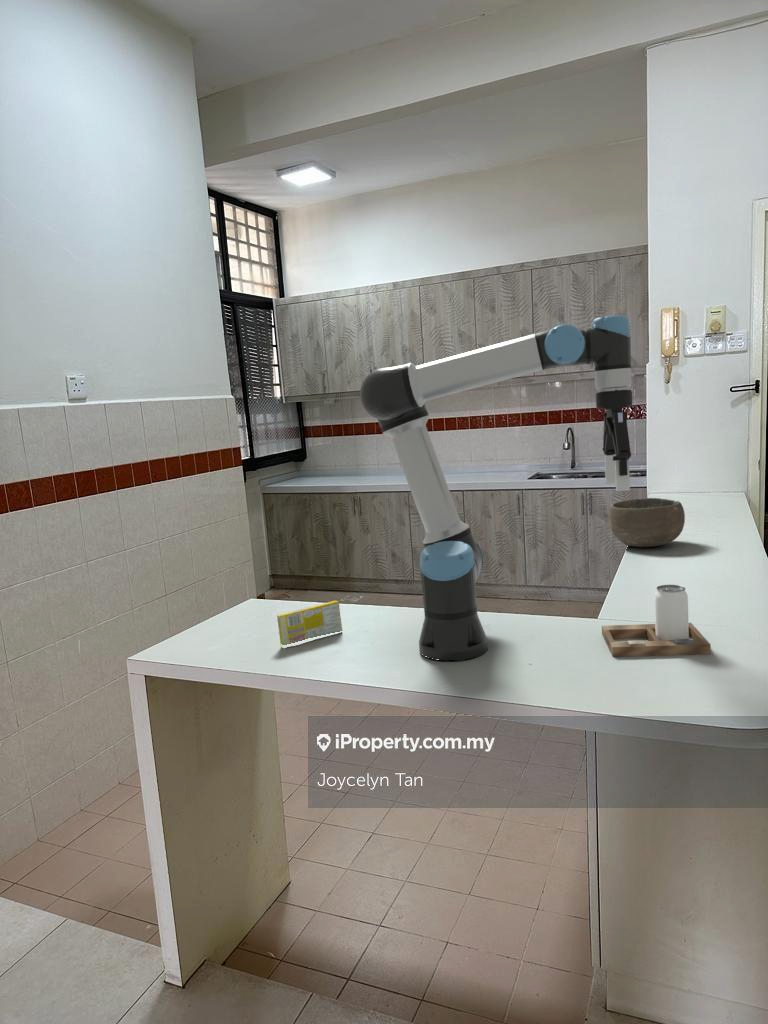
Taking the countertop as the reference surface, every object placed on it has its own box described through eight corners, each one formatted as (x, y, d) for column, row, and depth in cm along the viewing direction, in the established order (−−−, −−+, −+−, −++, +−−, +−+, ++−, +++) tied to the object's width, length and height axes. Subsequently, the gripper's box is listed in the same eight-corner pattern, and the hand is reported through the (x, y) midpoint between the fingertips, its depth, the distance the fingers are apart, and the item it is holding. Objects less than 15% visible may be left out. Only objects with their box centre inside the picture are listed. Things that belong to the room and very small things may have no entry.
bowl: (622, 537, 259) (621, 497, 257) (692, 539, 245) (691, 497, 243) (600, 550, 240) (598, 507, 238) (675, 554, 226) (674, 508, 224)
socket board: (612, 656, 144) (612, 645, 143) (602, 634, 157) (601, 624, 157) (710, 653, 141) (710, 642, 140) (691, 631, 154) (690, 620, 154)
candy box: (339, 631, 176) (335, 599, 175) (343, 633, 175) (340, 601, 173) (280, 647, 168) (276, 614, 167) (283, 649, 166) (280, 616, 165)
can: (691, 648, 145) (690, 591, 143) (658, 648, 146) (657, 592, 144) (685, 637, 151) (683, 583, 149) (653, 638, 152) (651, 584, 151)
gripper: (644, 387, 139) (647, 492, 142) (621, 389, 163) (624, 479, 166) (604, 390, 140) (609, 495, 143) (587, 392, 165) (591, 481, 168)
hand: (617, 487), depth 155 cm, fingers open, 13 cm apart
